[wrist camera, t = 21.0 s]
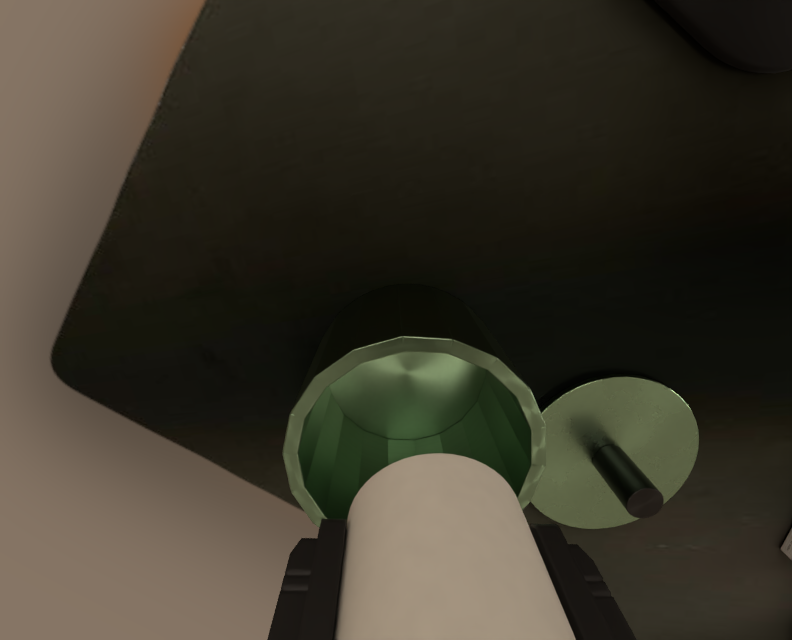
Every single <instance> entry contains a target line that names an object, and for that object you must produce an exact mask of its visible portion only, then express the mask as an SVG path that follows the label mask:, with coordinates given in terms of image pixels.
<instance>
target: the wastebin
mask: <svg viewBox="0 0 792 640" xmlns="http://www.w3.org/2000/svg"><path fill="white" fill-rule="evenodd" d="M282 452H283V458H284V463H285V467H286V472H287V476H288V480H289V485H290V489H291V492H292V494H293V495H294V497H295V498H296V500H297V501H298V502H299V504H300V505H301V507H302V508H303V509H304V511H305V512H306V514H307V515H308V517H309V518H310V519H311V521H312V522H313V523H314V524H315V525H317V526H318V527H319V528H320V523H321V520H322V519H348V514H349V510H350V507H351V505H352V502H353V500H354V498H355V496H356V495H357V493H358V492H359V490H360V489H361V488H362V487H363V485H364V484H365V483H366V482H367V481H368V480H369V479H370V478H371V477H372V476H373V475H375V474H376V473H377V472H379V471H380V470H382V469H383V468H385V467H387V466H389V465H391V464H392V463H394V462H397V461H400V460H402V459H405V458H408V457H412V456H416V455H422V454H432V453H445V454H455V455H460V456H465V457H468V458H471V459H474V460H476V461H479V462H481V463H483V464H485V465H487V466H488V467H490V468H491V469H493V470H495V471H496V472H497V473H498V474H499V475H501V476H502V477H503V478H504V479H505V480H506V482H507V483H508V484H509V485H510V487H511V488H512V490H513V491H514V493H515V495H516V497H517V499H518V502H519V504H520V507H521V509H522V510H523V509H524V508H525V507H526V506H527V505H528V504H529V503H530V501H531V499H532V497H533V495H534V492H535V490H536V488H537V485H538V483H539V481H540V478H541V476H542V474H543V471H544V469H545V467H546V424H545V422H544V419H543V417H542V415H541V412H540V410H539V408H538V405H537V403H536V401H535V398H534V396H533V394H532V391H531V389H530V388H529V386H528V385H527V383H526V382H525V381H524V379H523V378H522V376H521V375H520V373H519V372H518V371H517V369H516V368H515V366H514V365H513V364H512V362H511V361H510V359H509V358H508V356H507V355H506V354H505V352H504V351H503V349H502V348H501V346H500V345H499V344H498V342H497V341H496V339H495V338H494V337H493V335H492V334H491V332H490V331H489V329H488V328H487V327H486V325H485V324H484V322H483V321H482V320H481V319H480V318H479V317H478V316H477V315H476V314H475V313H474V312H473V311H472V310H471V309H470V308H469V307H468V306H467V305H466V304H465V303H464V302H463V301H461V300H460V299H458V298H456V297H454V296H452V295H451V294H449V293H447V292H445V291H442V290H439V289H436V288H433V287H429V286H424V285H415V284H398V285H392V286H386V287H383V288H379V289H376V290H373V291H371V292H369V293H367V294H364V295H362V296H361V297H359V298H357V299H356V300H354V301H353V302H351V303H350V304H349V305H348V306H347V307H345V308H344V309H343V310H342V311H341V312H339V314H338V315H337V316H336V318H335V319H334V321H333V322H332V324H331V325H330V326H329V328H328V330H327V332H326V333H325V335H324V336H323V338H322V340H321V342H320V345H319V347H318V349H317V352H316V354H315V356H314V359H313V361H312V363H311V365H310V368H309V370H308V372H307V375H306V377H305V379H304V382H303V384H302V386H301V389H300V391H299V393H298V396H297V398H296V400H295V403H294V405H293V407H292V410H291V412H290V414H289V420H288V425H287V430H286V435H285V440H284V446H283V451H282Z"/></svg>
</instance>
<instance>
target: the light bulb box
mask: <svg viewBox="0 0 792 640" xmlns="http://www.w3.org/2000/svg"><path fill="white" fill-rule="evenodd" d="M781 551H782V552H784V553H785V554H786V555H787V556H788V557H789V558H790V559H791V560H792V528H791V530H790V532H789V534H788V536H787V538H786V539H785V541H784V543H783V545H782V547H781Z"/></svg>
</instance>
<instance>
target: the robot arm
mask: <svg viewBox="0 0 792 640" xmlns="http://www.w3.org/2000/svg"><path fill="white" fill-rule="evenodd" d="M529 528H530V531H531V533H532V535H533V538H534V540H535V543H536V545H537V547H538V550H539V552H540V555H541V557H542V559H543V562H544V564H545V567H546V569H547V571H548V574H549V576H550V579H551V581H552V583H553V586H554V588H555V591H556V593H557V595H558V598H559V600H560V603H561V605H562V607H563V610H564V612H565V615H566V617H567V619H568V622H569V624H570V627H571V629H572V631H573V634H574V636H575V639H576V640H636V638H635V636H634V634H633V632H632V631H631V629H630V627H629V625H628V623H627V621H626V620H625V618H624V616H623V614H622V612H621V611H620V609H619V607H618V605H617V603H616V601H615V600H614V598H613V597H612V596H611V592H610V591H609V589H608V587H607V585H606V583H605V582H603V578H602V576H601V574H600V572H599V571H598V569H597V567H596V565H595V563H594V561H593V560H592V559H591V558H590V557H589V556H588V555H587V554H586V553H585V552H584V551H583V550H582V549H581V548H580V547H579V546H578V545H577V544H568V543H567V541H566V539H565V537H564V535H563V534H562V532H561V530H560V528H559V527H558V525H556V524H530V525H529ZM346 531H347V519H322V520H321V523H320V529H319V534H318V539H315V538H314V539H312V538H310V539H309V538H302V539H301V540H300V541H299V542H298V544H297V545H296V547H295V548H294V549H293V551H292V552H291V553H290V557H289V560H288V564H287V568H286V572H285V576H284V579H283V583H282V587H281V591H280V594H279V598H278V602H277V605H276V609H275V613H274V617H273V621H272V624H271V628H270V632H269V636H268V640H334V632H335V624H336V615H337V607H338V598H339V590H340V582H341V573H342V565H343V556H344V548H345V539H346Z"/></svg>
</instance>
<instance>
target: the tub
mask: <svg viewBox="0 0 792 640" xmlns="http://www.w3.org/2000/svg"><path fill="white" fill-rule="evenodd" d="M334 640H576V639H575V636H574V634H573V631H572V629H571V627H570V624H569V622H568V619H567V617H566V615H565V612H564V610H563V607H562V605H561V603H560V600H559V598H558V595H557V593H556V591H555V588H554V586H553V583H552V581H551V579H550V576H549V574H548V571H547V569H546V567H545V564H544V562H543V559H542V557H541V555H540V552H539V550H538V547H537V545H536V543H535V540H534V538H533V535H532V533H531V531H530V528H529V526H528V523H527V521H526V519H525V516H524V514H523V511H522V509H521V507H520V504H519V502H518V499H517V497H516V495H515V493H514V491H513V490H512V488H511V487H510V485H509V484H508V483H507V482H506V480H505V479H504V478H503V477H502V476H501V475H499V474H498V473H497V472H496V471H495V470H493V469H491V468H490V467H488V466H487V465H485V464H483V463H481V462H479V461H476V460H474V459H471V458H468V457H465V456H460V455H455V454H445V453H432V454H422V455H416V456H412V457H408V458H405V459H402V460H400V461H397V462H394V463H392V464H391V465H389V466H387V467H385V468H383V469H382V470H380V471H379V472H377V473H376V474H375V475H373V476H372V477H371V478H370V479H369V480H368V481H367V482H366V483H365V484H364V485H363V487H362V488H361V489H360V490H359V492H358V493H357V495H356V496H355V498H354V500H353V502H352V505H351V507H350V510H349V514H348V519H347V531H346V539H345V548H344V556H343V565H342V573H341V582H340V590H339V598H338V607H337V615H336V624H335V632H334Z"/></svg>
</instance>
